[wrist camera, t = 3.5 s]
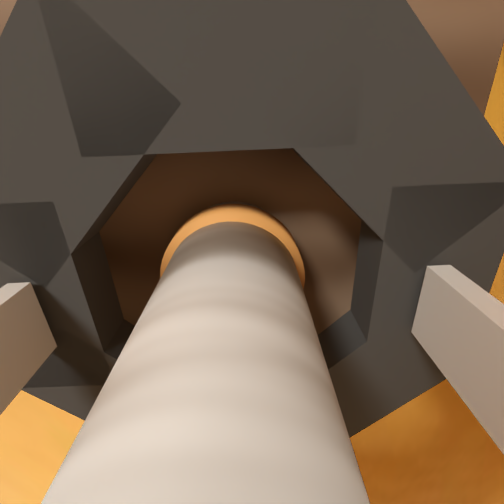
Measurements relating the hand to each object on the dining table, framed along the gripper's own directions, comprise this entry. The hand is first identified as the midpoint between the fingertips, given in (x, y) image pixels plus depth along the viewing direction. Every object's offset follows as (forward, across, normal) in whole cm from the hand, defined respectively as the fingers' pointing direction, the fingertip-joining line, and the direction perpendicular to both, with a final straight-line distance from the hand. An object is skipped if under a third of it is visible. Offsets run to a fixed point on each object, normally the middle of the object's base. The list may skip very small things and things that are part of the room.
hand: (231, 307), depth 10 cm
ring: (+2, 0, 0) cm, 2 cm away
